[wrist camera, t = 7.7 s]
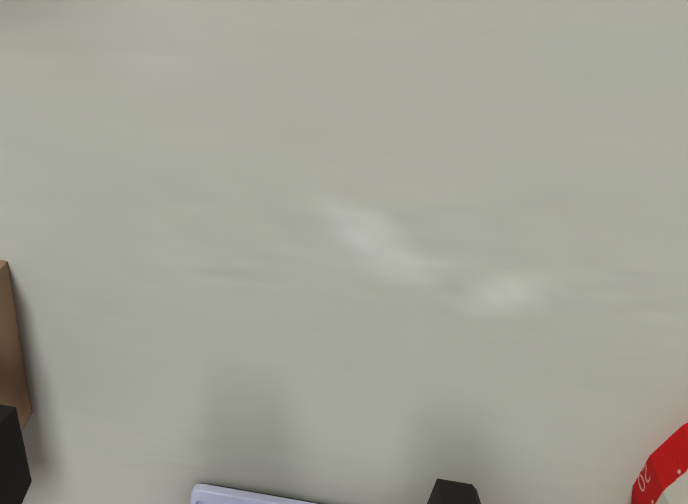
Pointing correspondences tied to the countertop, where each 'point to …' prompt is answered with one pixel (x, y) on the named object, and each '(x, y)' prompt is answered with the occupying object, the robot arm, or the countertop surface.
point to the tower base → (11, 353)
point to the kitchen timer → (665, 473)
